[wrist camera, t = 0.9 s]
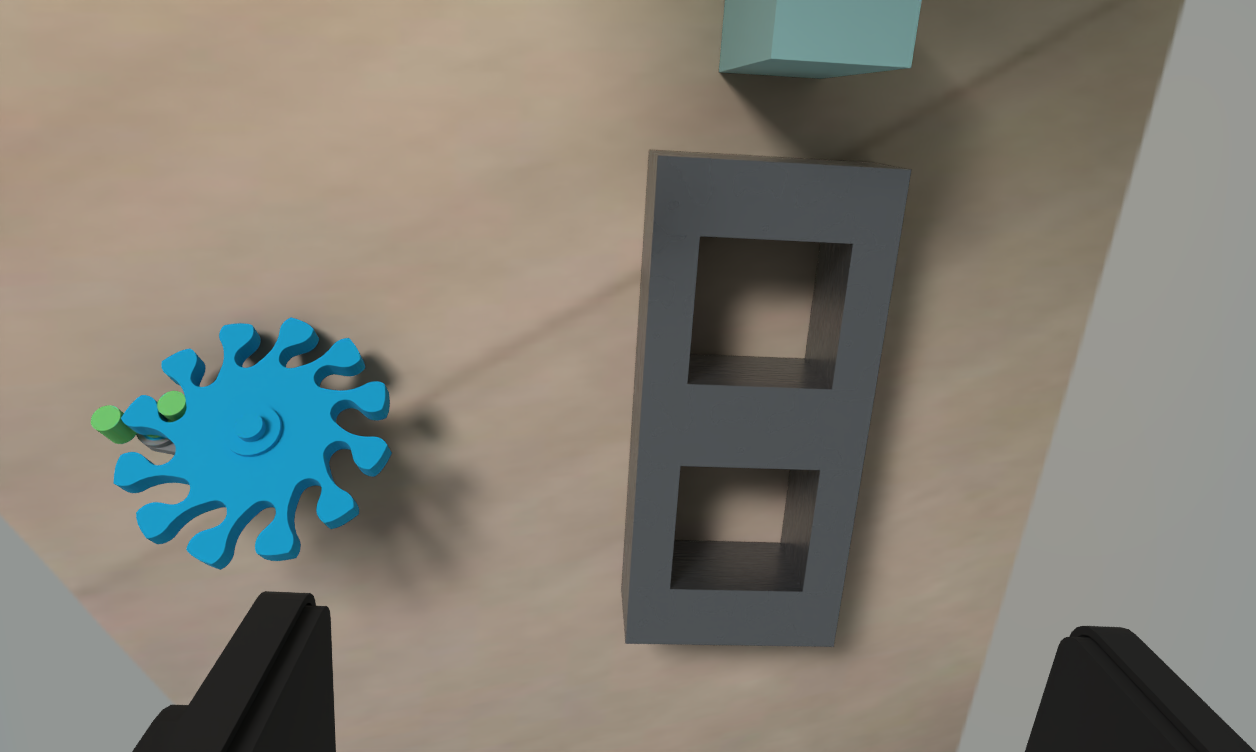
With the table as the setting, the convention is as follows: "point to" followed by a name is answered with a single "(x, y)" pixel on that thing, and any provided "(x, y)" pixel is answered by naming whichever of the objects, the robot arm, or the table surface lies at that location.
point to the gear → (248, 441)
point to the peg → (818, 37)
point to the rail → (755, 397)
